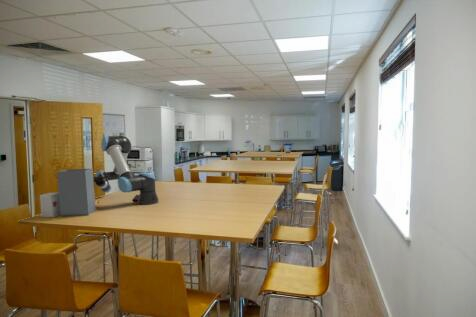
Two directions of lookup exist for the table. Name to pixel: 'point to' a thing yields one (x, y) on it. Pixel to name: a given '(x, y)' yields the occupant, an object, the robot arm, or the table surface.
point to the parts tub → (76, 192)
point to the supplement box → (50, 204)
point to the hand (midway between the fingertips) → (92, 172)
